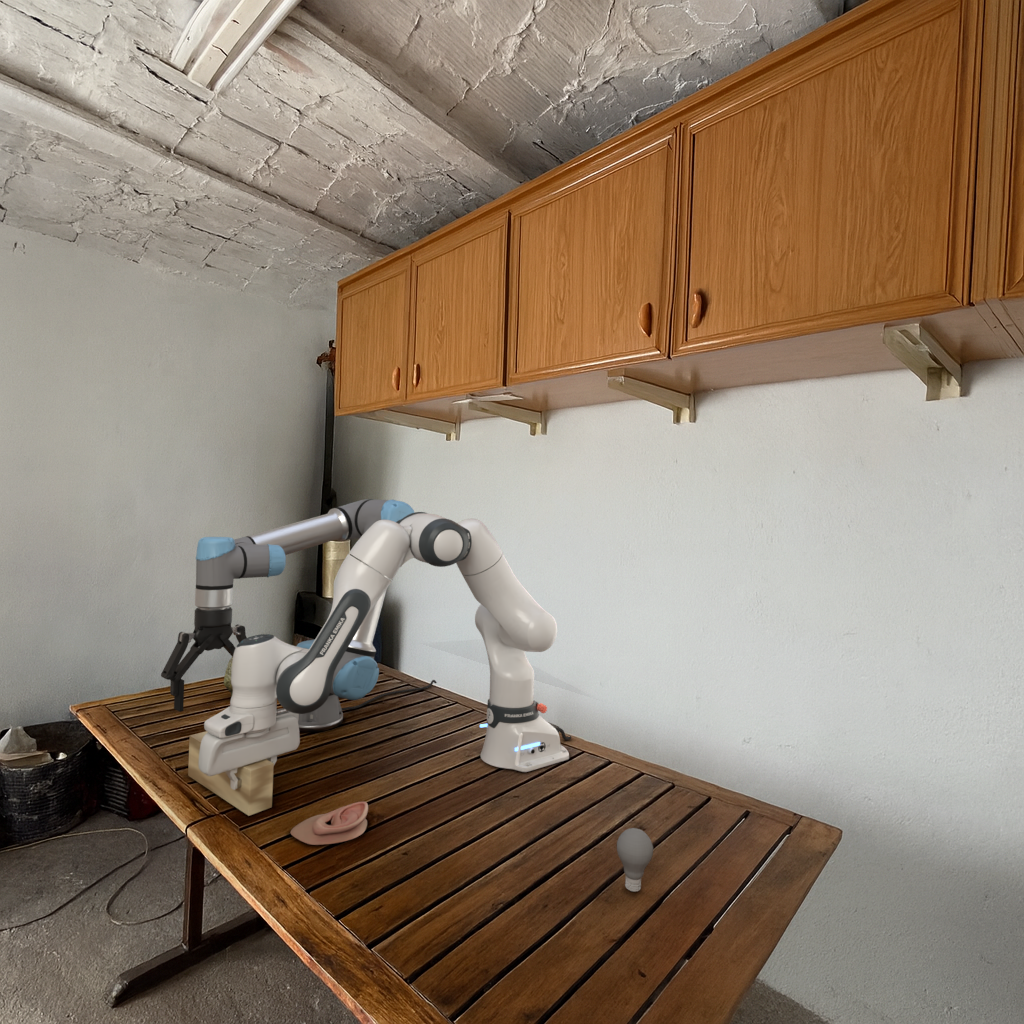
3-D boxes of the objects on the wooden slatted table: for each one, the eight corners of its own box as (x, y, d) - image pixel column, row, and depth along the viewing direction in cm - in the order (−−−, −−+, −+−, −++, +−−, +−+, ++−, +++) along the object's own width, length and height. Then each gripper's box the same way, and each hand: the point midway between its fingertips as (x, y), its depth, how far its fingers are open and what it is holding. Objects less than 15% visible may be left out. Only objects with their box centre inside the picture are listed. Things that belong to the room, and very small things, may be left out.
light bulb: (610, 878, 109) (613, 821, 108) (645, 878, 109) (647, 821, 109) (619, 901, 103) (622, 840, 103) (655, 900, 103) (658, 839, 103)
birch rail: (210, 768, 145) (211, 729, 145) (272, 807, 128) (273, 763, 128) (187, 775, 141) (189, 735, 141) (248, 816, 125) (250, 770, 124)
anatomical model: (282, 818, 116) (314, 791, 127) (281, 840, 116) (313, 810, 127) (349, 829, 113) (375, 800, 125) (348, 851, 113) (374, 820, 125)
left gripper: (257, 599, 152) (254, 687, 152) (145, 610, 132) (142, 711, 133) (274, 603, 147) (271, 694, 147) (161, 616, 127) (157, 720, 128)
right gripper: (290, 700, 139) (288, 763, 139) (195, 723, 123) (193, 794, 123) (307, 707, 135) (304, 771, 135) (211, 732, 119) (208, 805, 119)
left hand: (210, 702), depth 140 cm, fingers open, 13 cm apart
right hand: (250, 782), depth 129 cm, fingers closed on birch rail, 5 cm apart
